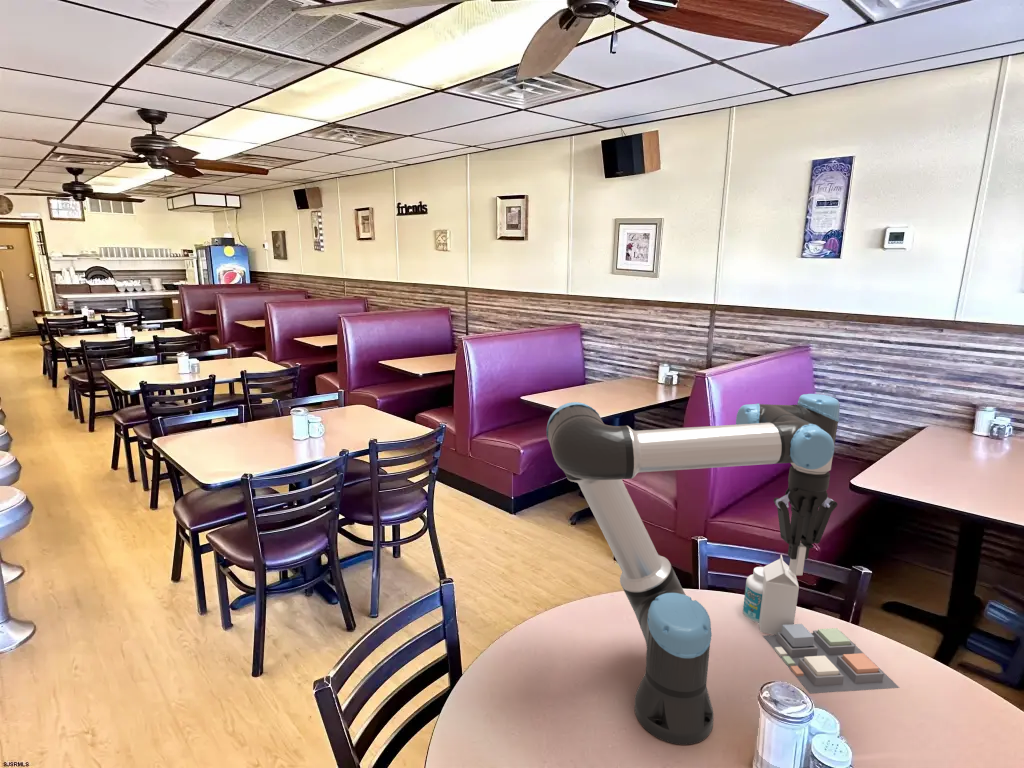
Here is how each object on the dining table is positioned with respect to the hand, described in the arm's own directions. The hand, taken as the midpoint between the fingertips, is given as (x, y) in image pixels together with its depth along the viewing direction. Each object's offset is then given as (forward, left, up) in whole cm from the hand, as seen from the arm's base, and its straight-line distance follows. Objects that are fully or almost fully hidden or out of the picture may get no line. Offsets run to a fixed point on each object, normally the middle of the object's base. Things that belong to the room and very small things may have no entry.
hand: (795, 571), depth 122 cm
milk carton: (+5, +13, -24) cm, 28 cm away
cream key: (+5, -4, -22) cm, 23 cm away
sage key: (+14, +5, -22) cm, 27 cm away
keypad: (+10, 0, -23) cm, 25 cm away
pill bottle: (+3, +18, -24) cm, 30 cm away
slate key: (+5, +5, -20) cm, 21 cm away
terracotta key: (+14, -4, -22) cm, 27 cm away
